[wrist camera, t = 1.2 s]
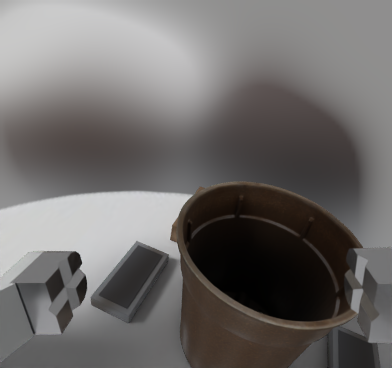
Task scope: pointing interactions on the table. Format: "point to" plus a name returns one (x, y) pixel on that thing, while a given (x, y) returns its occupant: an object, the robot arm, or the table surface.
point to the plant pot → (259, 275)
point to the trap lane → (150, 270)
